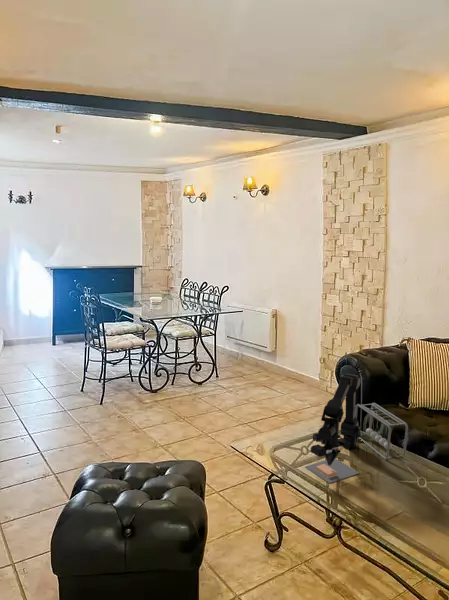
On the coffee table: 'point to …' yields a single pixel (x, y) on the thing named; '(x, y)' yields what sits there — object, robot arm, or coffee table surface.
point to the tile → (326, 471)
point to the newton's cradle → (374, 434)
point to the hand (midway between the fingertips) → (329, 464)
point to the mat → (337, 465)
